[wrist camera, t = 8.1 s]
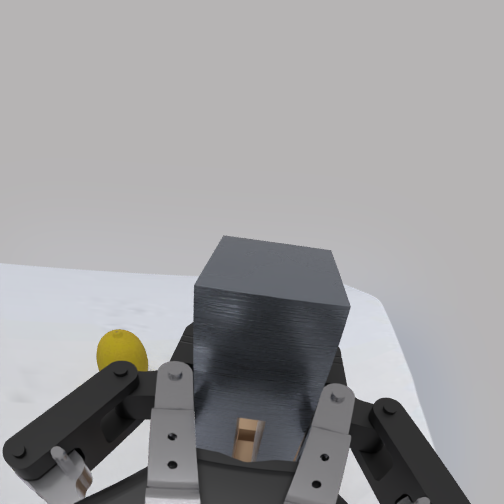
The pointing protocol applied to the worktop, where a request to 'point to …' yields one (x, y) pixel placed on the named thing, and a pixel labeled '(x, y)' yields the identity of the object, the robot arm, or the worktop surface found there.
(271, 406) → the block
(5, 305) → the worktop surface
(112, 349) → the lemon
